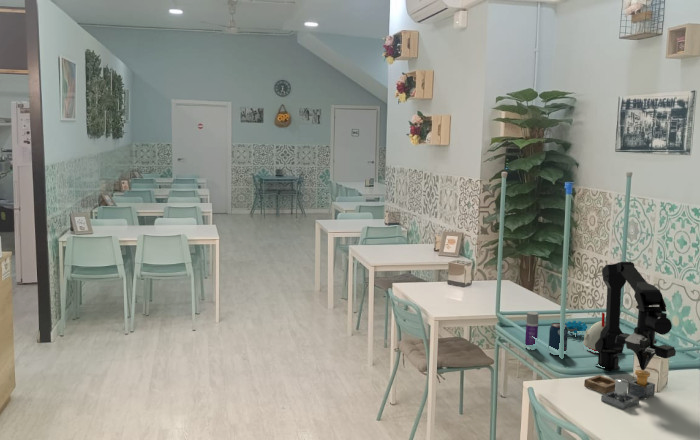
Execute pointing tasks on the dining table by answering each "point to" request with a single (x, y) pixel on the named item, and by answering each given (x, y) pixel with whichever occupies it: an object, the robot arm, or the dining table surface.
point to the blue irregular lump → (576, 326)
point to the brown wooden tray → (600, 384)
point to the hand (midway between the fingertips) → (642, 369)
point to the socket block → (631, 395)
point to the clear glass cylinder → (620, 389)
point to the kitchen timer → (594, 333)
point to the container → (531, 328)
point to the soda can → (557, 336)
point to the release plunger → (642, 377)
